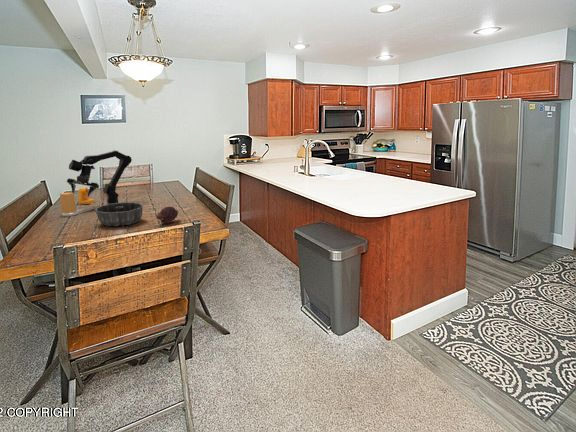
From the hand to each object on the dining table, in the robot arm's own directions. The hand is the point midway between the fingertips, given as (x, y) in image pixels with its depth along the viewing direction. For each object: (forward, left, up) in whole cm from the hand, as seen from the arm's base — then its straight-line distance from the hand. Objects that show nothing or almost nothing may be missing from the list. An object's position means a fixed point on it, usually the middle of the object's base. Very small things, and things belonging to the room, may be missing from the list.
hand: (80, 195), depth 256 cm
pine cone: (-22, +74, -11) cm, 78 cm away
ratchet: (+4, +3, -11) cm, 12 cm away
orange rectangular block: (+10, +6, -9) cm, 14 cm away
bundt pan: (-3, +52, -11) cm, 53 cm away
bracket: (-12, -24, -11) cm, 29 cm away
